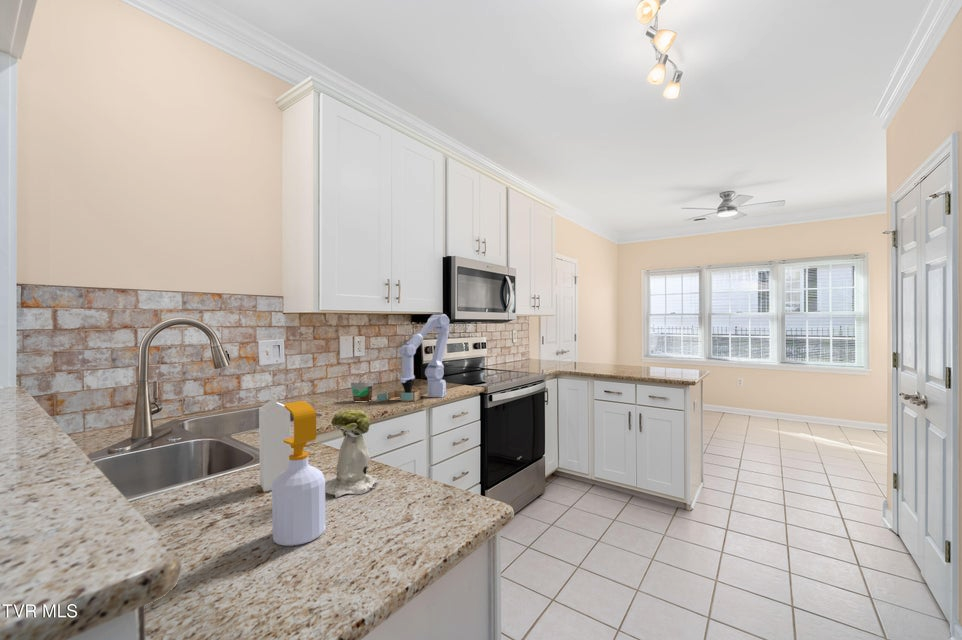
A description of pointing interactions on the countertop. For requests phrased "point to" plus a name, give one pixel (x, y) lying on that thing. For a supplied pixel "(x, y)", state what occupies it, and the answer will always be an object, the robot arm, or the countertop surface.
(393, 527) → the countertop surface
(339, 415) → the tree figurine
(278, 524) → the soap bottle
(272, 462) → the white gable-top box
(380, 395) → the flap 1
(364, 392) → the food container
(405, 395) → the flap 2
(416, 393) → the carton
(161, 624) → the countertop surface
